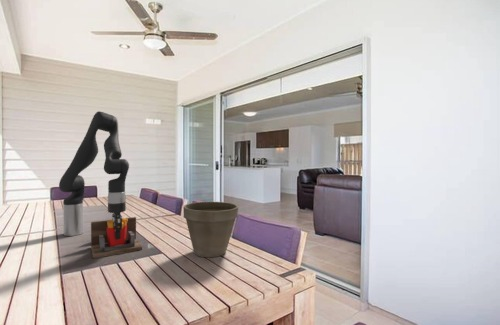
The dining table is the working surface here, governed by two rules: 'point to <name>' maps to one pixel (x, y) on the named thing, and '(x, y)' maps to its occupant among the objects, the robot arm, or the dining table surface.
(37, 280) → the dining table surface
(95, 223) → the wooden shelf
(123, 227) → the french fries
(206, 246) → the plant pot
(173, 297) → the dining table surface
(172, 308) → the dining table surface
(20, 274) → the dining table surface
